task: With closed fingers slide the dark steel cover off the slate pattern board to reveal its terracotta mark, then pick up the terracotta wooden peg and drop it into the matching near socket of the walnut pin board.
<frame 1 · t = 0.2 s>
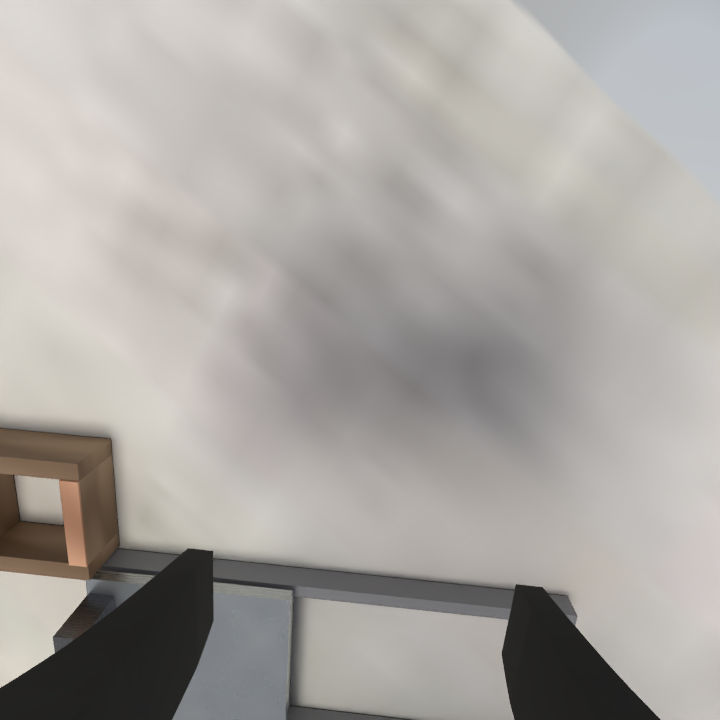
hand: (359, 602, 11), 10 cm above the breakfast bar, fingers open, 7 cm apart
pattern board: (206, 635, 24), on the breakfast bar
cover: (181, 689, 22), point 3 cm above the breakfast bar, slide at 0.0 cm
socket board: (4, 482, 23), on the breakfast bar
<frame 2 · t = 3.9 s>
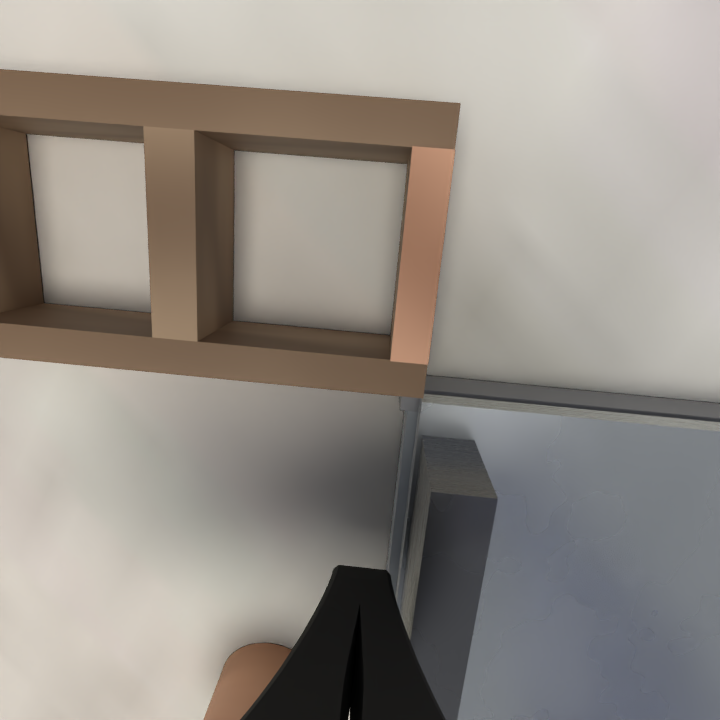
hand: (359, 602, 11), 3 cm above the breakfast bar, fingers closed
peg: (268, 680, 16), on the breakfast bar
pattern board: (544, 543, 14), on the breakfast bar
cover: (603, 629, 11), point 3 cm above the breakfast bar, slide at 0.4 cm, touching gripper
socket board: (214, 237, 12), on the breakfast bar
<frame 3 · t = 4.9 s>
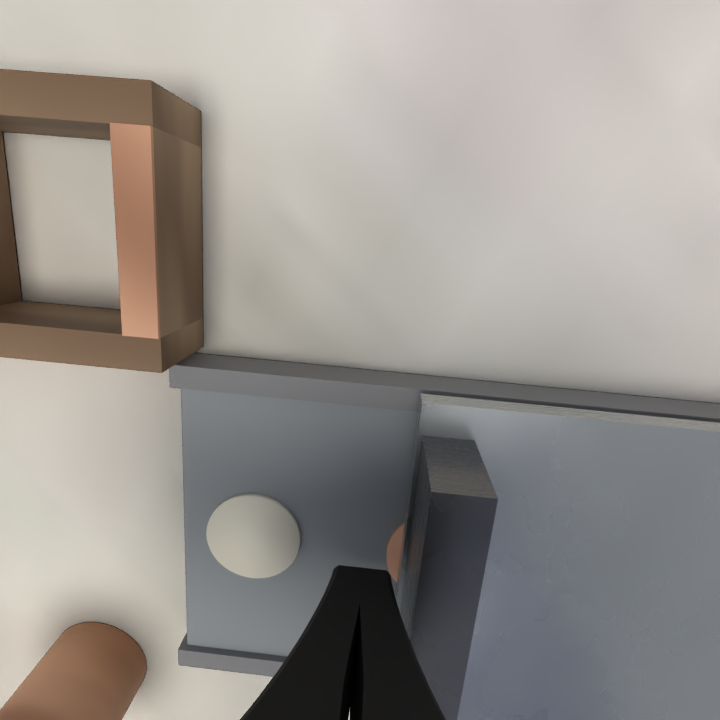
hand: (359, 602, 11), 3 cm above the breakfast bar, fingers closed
peg: (101, 660, 16), on the breakfast bar
pattern board: (346, 522, 14), on the breakfast bar
cover: (603, 630, 11), point 3 cm above the breakfast bar, slide at 6.2 cm, touching gripper
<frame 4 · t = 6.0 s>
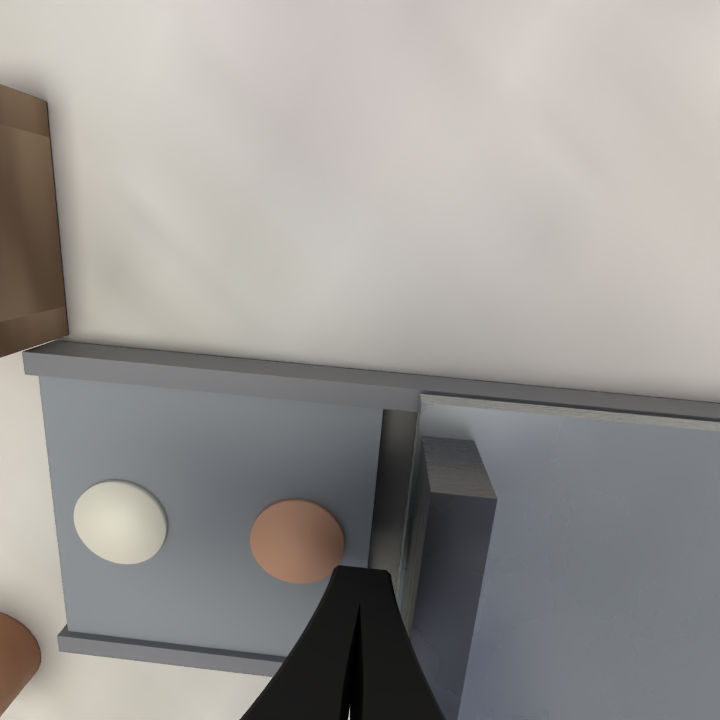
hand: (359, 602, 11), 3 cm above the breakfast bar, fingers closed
pattern board: (222, 509, 14), on the breakfast bar
cover: (603, 629, 11), point 3 cm above the breakfast bar, slide at 10.0 cm, touching gripper
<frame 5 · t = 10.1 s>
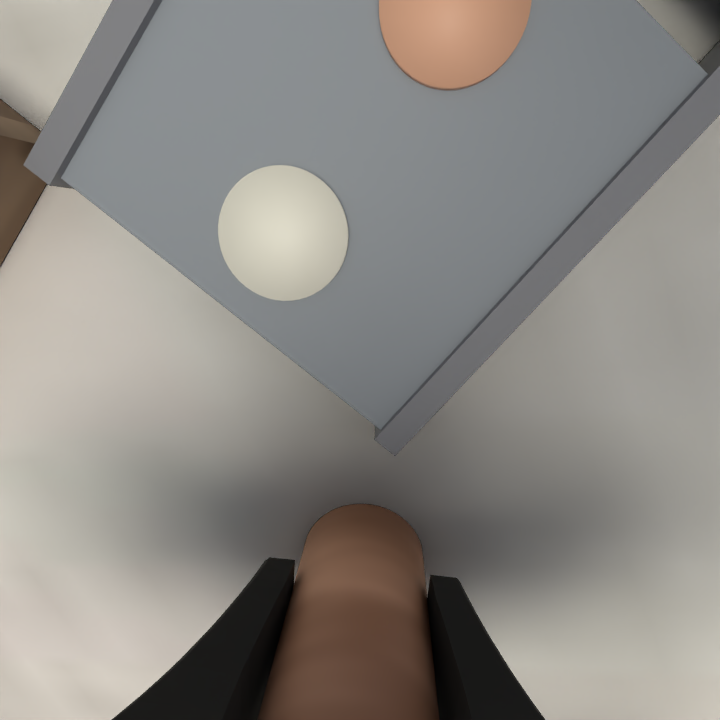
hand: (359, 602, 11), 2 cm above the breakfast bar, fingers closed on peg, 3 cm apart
peg: (363, 556, 13), on the breakfast bar, touching gripper
pattern board: (365, 139, 10), on the breakfast bar
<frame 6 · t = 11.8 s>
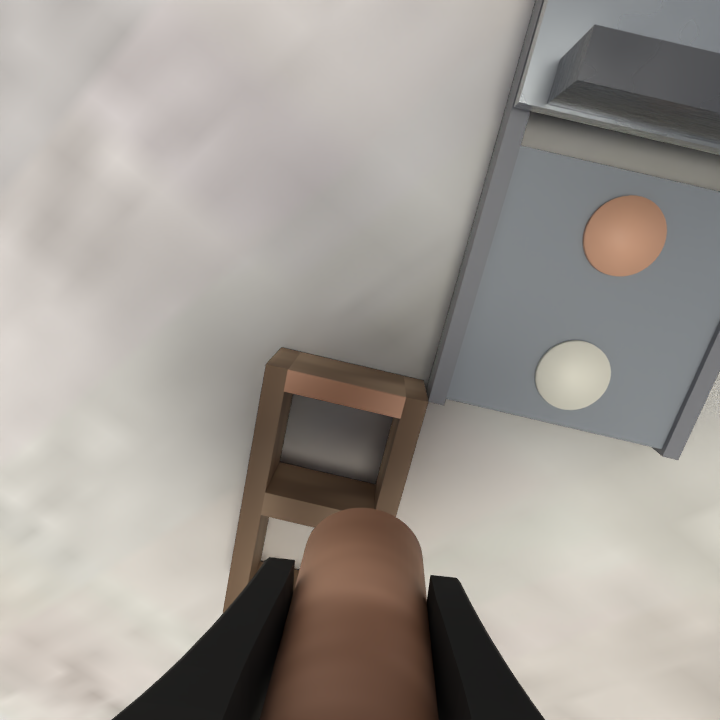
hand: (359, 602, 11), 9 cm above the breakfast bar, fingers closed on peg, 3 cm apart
peg: (363, 559, 13), point 7 cm above the breakfast bar, touching gripper
pattern board: (584, 304, 17), on the breakfast bar
socket board: (325, 483, 20), on the breakfast bar
when the fingers open (3 cm above the breakfast bar, at t = 13.8 s): peg drops 1 cm, resting in socket board.
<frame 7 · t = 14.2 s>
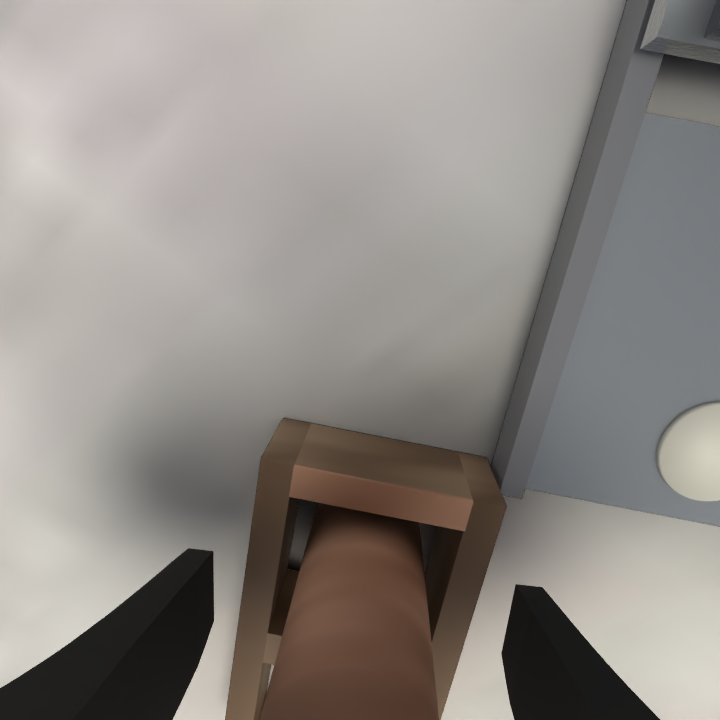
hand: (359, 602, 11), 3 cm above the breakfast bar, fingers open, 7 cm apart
peg: (366, 528, 14), resting in socket board
socket board: (350, 595, 15), on the breakfast bar
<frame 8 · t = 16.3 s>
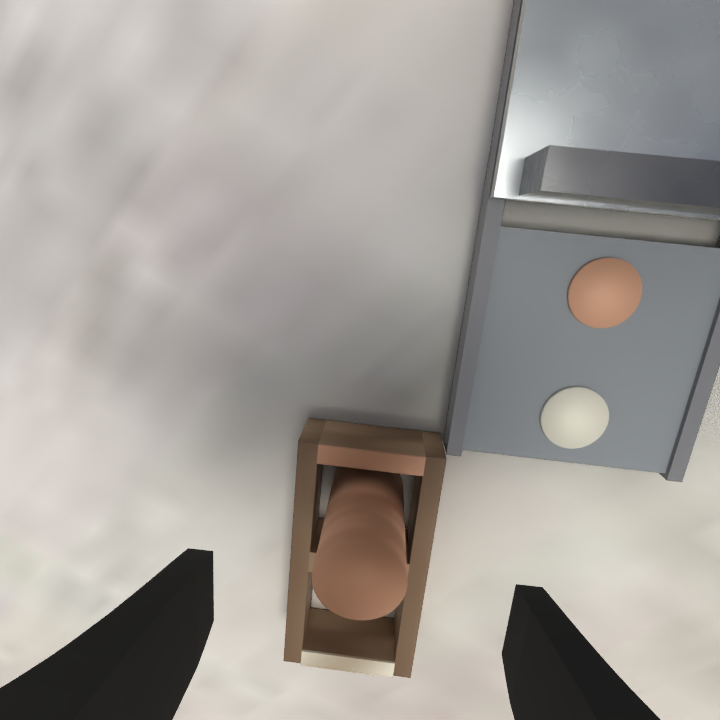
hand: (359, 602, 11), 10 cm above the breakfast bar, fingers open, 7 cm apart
peg: (367, 486, 21), resting in socket board
pattern board: (577, 350, 19), on the breakfast bar
cover: (697, 38, 13), point 3 cm above the breakfast bar, slide at 10.1 cm
socket board: (361, 532, 22), on the breakfast bar
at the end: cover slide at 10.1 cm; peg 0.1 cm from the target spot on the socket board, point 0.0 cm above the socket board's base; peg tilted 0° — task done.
